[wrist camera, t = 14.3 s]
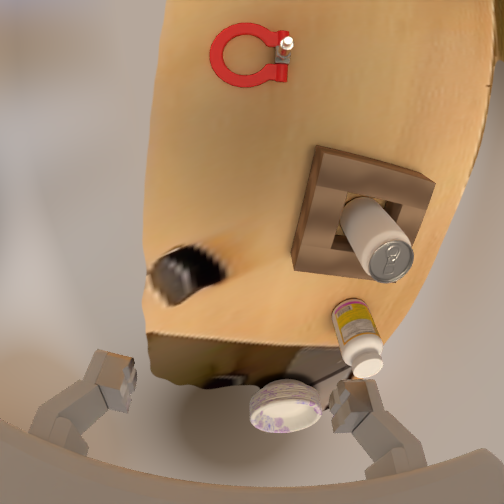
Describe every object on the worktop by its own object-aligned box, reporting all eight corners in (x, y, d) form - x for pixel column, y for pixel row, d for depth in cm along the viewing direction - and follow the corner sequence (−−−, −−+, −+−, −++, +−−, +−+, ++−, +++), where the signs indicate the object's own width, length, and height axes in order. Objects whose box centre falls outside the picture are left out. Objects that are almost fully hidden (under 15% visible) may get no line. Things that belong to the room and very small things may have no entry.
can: (383, 195, 39) (422, 235, 29) (378, 235, 43) (410, 284, 32) (340, 195, 40) (369, 238, 29) (337, 237, 43) (361, 288, 33)
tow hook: (210, 87, 33) (286, 89, 33) (181, 87, 22) (296, 89, 21) (212, 25, 29) (289, 26, 28) (185, -3, 17) (300, -3, 17)
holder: (316, 145, 36) (324, 152, 32) (420, 172, 37) (435, 183, 33) (290, 253, 44) (294, 270, 40) (385, 266, 45) (395, 283, 42)
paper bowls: (330, 377, 61) (336, 407, 54) (296, 409, 68) (299, 436, 61) (267, 363, 58) (269, 396, 51) (239, 398, 65) (238, 427, 58)
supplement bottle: (360, 325, 52) (378, 381, 41) (326, 324, 52) (340, 383, 41) (372, 297, 49) (396, 354, 38) (337, 295, 48) (355, 355, 37)
